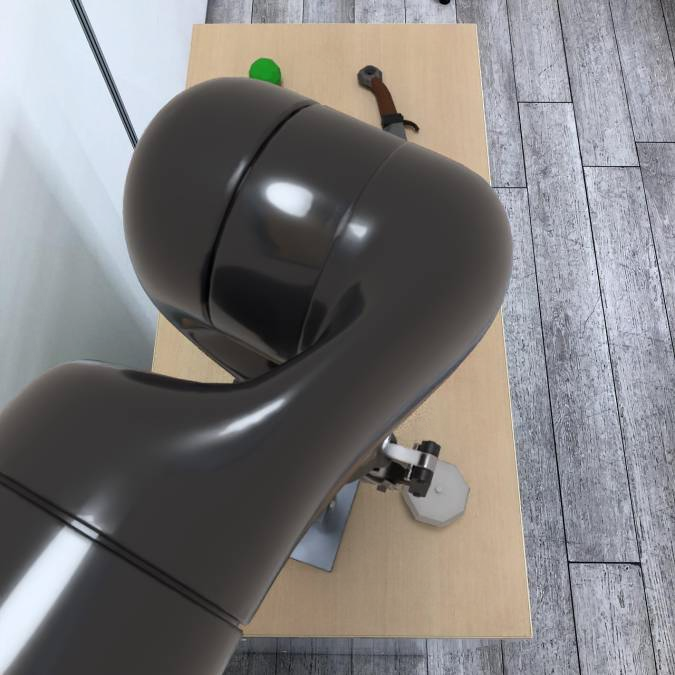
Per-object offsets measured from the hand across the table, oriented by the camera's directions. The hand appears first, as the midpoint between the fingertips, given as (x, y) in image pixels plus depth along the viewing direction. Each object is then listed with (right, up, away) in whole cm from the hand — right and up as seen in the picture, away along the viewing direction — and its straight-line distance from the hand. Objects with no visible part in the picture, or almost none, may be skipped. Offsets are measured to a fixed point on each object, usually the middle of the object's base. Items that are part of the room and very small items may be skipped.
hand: (331, 460), depth 48 cm
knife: (+10, +38, +48) cm, 62 cm away
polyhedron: (-11, +49, +52) cm, 72 cm away
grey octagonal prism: (+12, -10, +29) cm, 33 cm away
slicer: (-3, -11, +28) cm, 30 cm away
